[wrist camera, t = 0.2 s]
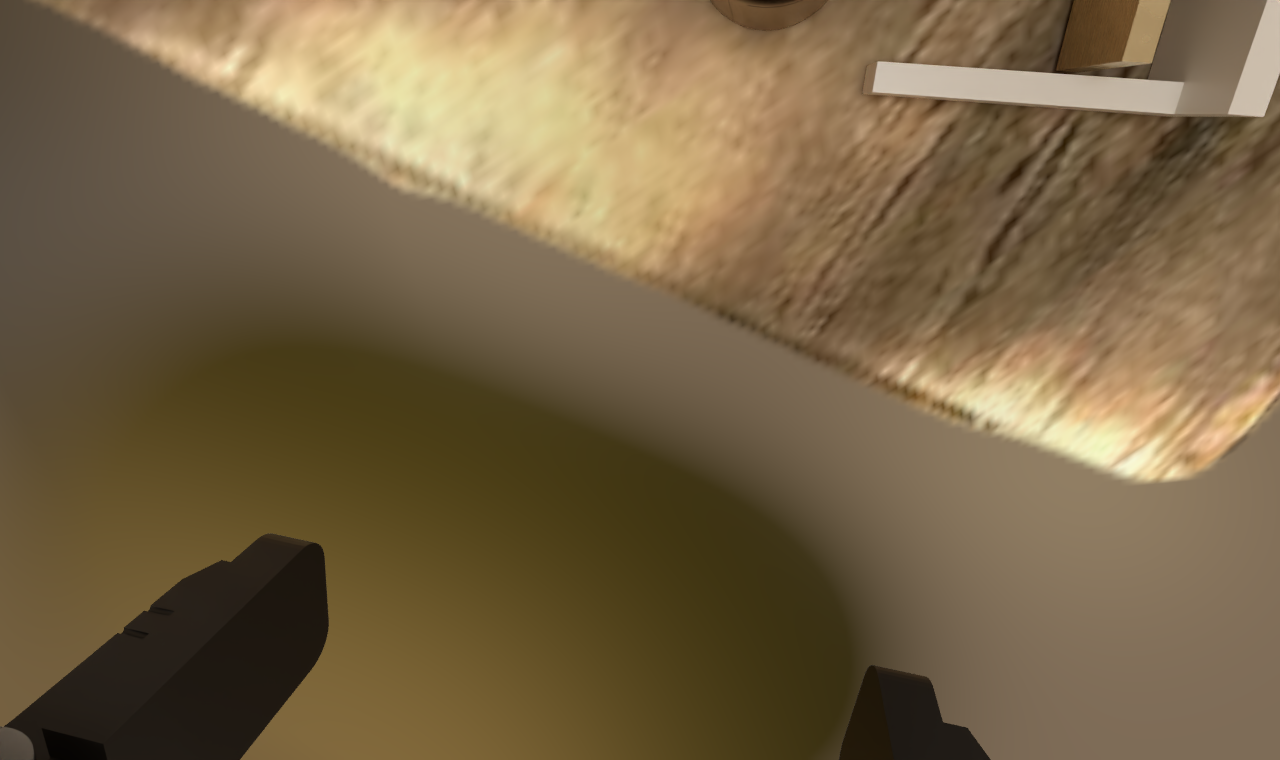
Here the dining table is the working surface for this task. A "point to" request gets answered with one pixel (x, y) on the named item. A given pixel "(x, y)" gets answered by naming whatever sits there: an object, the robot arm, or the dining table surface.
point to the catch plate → (1111, 34)
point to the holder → (1177, 83)
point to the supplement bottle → (767, 12)
